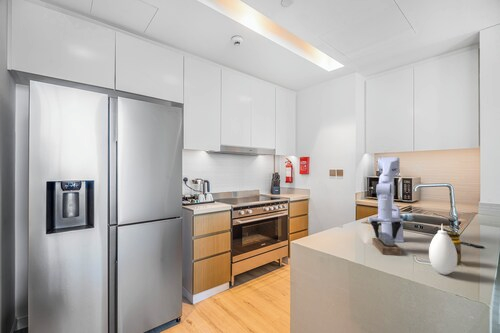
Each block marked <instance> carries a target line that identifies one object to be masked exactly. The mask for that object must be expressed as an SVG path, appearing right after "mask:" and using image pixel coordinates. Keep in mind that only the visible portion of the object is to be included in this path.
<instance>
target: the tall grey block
mask: <svg viewBox="0 0 500 333" xmlns="http://www.w3.org/2000/svg"><path fill="white" fill-rule="evenodd" d="M379 241H380V242H383V243H384V246H385V247H393V245H395V244H396V242H395V239H394V238H393V237H391V236H390V235H388V234H387V233H382V231H381V232H379Z"/></svg>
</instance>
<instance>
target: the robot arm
mask: <svg viewBox="0 0 500 333" xmlns="http://www.w3.org/2000/svg"><path fill="white" fill-rule="evenodd" d="M377 159H378V160H377V166H378V171H379V173H380V175H379V178H378V184H376V188H375V191H376V199H377V216H372V217H371V216H369V217H367V222H369V223H370V224H371V226H372V228H373V229H372V230H373V232H374V233H375V238H379V230H380V229H379V228H380V224H381V232H382V233H387V234H388V235H390V236H391V237H393V238H394V239H395V243H405V240H404V228H403V227H404V226H403V225H402V224H404V218H402V217H401V211H400V207H398V206H397V205H396V204H395V194H394V193H395V177H396V175H397V174H399V172H400V157H399V156H392V157H391V156H390V157H389V156H388V157H387V156H386V157H378V158H377ZM379 223H380V224H379Z"/></svg>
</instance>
